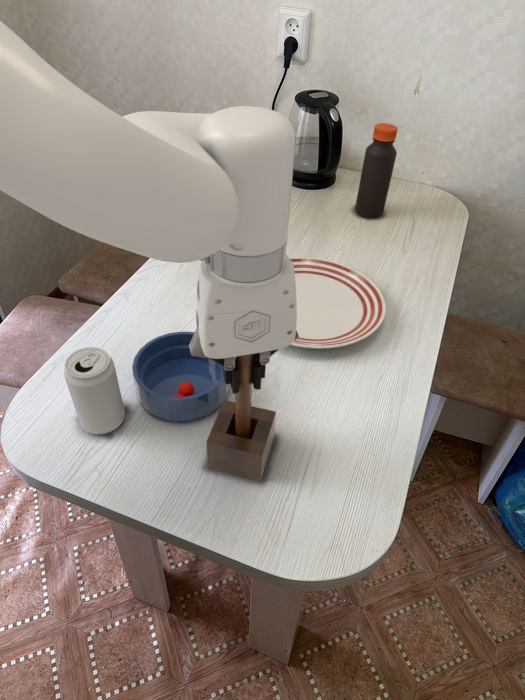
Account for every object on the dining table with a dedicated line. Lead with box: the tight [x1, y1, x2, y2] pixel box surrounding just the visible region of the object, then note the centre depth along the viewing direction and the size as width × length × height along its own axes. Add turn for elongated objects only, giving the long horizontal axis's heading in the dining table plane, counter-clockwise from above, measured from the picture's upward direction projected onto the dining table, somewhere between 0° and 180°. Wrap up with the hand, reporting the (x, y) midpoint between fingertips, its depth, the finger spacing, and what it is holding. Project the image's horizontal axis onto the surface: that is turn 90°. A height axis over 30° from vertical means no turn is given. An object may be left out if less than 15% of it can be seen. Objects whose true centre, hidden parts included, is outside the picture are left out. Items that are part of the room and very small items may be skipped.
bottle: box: [354, 122, 399, 219], centre depth 115 cm, size 7×7×20 cm
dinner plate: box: [288, 256, 387, 350], centre depth 93 cm, size 27×27×3 cm
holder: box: [206, 399, 277, 482], centre depth 68 cm, size 7×7×6 cm
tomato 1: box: [172, 394, 185, 397], centre depth 74 cm, size 2×2×2 cm
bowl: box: [131, 331, 231, 422], centre depth 77 cm, size 14×14×6 cm
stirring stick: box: [234, 354, 253, 439], centre depth 63 cm, size 2×2×20 cm
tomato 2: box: [178, 382, 194, 396], centre depth 76 cm, size 2×2×2 cm
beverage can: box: [63, 346, 126, 435], centre depth 69 cm, size 6×6×12 cm
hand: (243, 382), depth 60 cm, fingers closed on stirring stick, 2 cm apart
